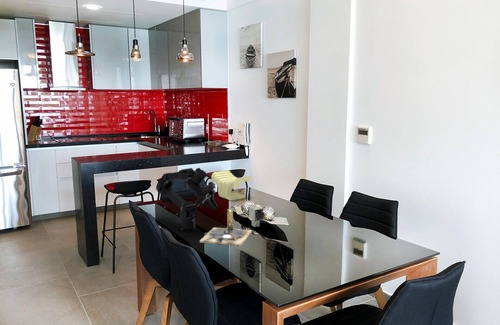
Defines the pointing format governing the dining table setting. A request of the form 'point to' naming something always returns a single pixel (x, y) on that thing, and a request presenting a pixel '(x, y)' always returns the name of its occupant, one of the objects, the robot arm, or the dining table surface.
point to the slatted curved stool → (228, 184)
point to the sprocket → (227, 230)
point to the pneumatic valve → (255, 215)
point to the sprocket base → (229, 242)
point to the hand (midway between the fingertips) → (216, 208)
